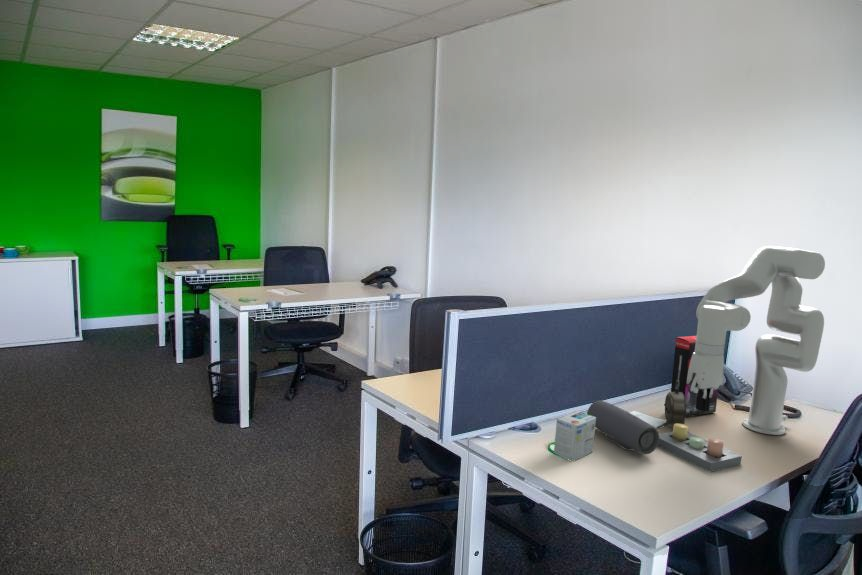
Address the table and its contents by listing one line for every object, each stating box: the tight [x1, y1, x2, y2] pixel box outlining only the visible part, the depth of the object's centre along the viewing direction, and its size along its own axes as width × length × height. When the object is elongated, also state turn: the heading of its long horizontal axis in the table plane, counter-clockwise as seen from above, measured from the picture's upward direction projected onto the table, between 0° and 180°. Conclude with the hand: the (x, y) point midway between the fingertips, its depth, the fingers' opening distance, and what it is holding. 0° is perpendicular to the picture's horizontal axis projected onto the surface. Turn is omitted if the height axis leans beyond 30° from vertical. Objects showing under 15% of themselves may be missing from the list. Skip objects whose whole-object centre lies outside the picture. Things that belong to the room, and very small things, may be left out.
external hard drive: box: [629, 410, 667, 430], centre depth 200 cm, size 2×8×12 cm
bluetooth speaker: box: [586, 399, 660, 455], centre depth 180 cm, size 23×9×10 cm, turn 23°
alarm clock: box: [663, 380, 687, 427], centre depth 194 cm, size 11×5×16 cm, turn 169°
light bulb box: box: [553, 410, 596, 462], centre depth 170 cm, size 11×7×11 cm, turn 134°
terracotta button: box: [706, 438, 725, 458], centre depth 170 cm, size 4×4×4 cm
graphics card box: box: [670, 335, 719, 418], centre depth 209 cm, size 17×7×27 cm, turn 117°
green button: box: [689, 437, 705, 450], centre depth 175 cm, size 4×4×4 cm
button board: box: [657, 431, 743, 472], centre depth 175 cm, size 13×20×2 cm, turn 28°
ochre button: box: [672, 423, 689, 441], centre depth 180 cm, size 4×4×4 cm
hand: (702, 409), depth 174 cm, fingers closed
